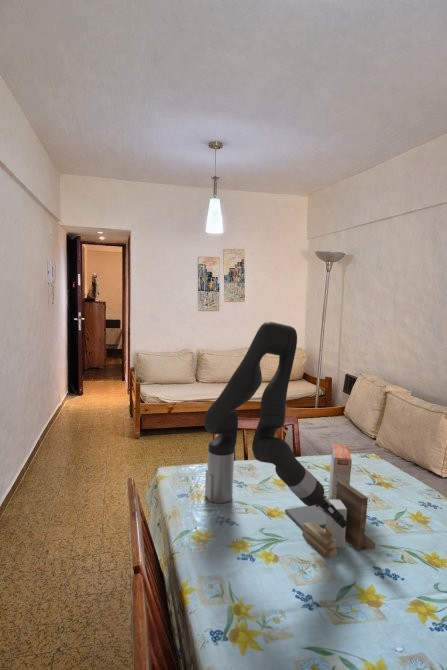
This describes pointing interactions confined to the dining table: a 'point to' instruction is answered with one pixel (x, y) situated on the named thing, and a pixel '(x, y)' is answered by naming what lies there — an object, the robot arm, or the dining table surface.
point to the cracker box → (339, 468)
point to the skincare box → (334, 527)
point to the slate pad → (307, 515)
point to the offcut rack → (354, 527)
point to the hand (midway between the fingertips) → (336, 517)
